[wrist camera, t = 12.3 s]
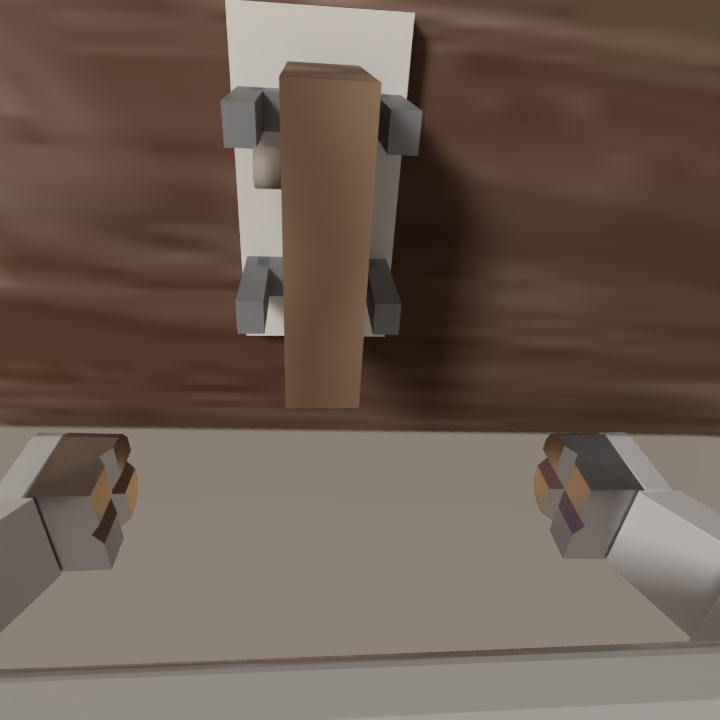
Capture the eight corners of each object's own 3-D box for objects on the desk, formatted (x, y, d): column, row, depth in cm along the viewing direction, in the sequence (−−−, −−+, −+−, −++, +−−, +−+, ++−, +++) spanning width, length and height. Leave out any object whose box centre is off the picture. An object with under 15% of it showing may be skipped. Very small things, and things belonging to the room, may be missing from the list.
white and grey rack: (409, 13, 24) (442, 9, 18) (381, 324, 33) (398, 390, 27) (229, 0, 23) (203, -8, 17) (248, 323, 32) (235, 391, 26)
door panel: (359, 65, 22) (381, 82, 16) (346, 318, 29) (358, 407, 22) (263, 59, 22) (243, 74, 15) (271, 317, 28) (260, 408, 22)
